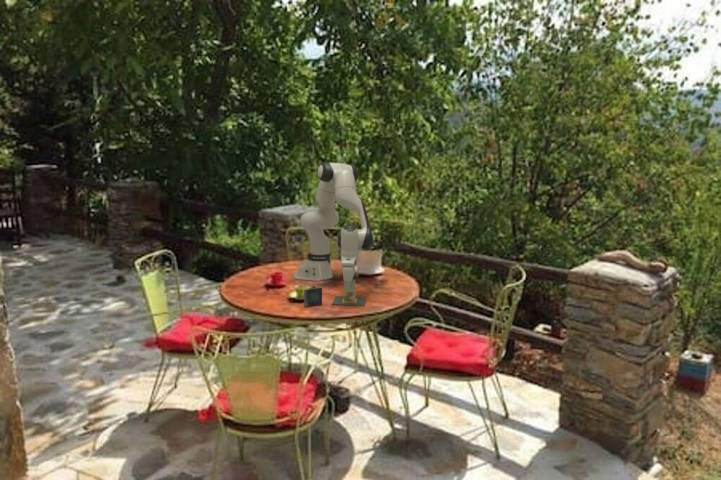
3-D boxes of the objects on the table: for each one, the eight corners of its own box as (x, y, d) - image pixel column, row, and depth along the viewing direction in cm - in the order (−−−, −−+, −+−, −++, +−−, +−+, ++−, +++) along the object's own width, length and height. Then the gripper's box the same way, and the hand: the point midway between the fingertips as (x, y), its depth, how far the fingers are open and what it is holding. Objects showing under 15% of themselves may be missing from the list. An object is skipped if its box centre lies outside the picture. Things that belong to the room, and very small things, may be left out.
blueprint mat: (331, 305, 285) (331, 303, 285) (335, 297, 298) (335, 296, 298) (364, 306, 284) (364, 304, 284) (366, 298, 297) (366, 297, 296)
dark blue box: (305, 307, 281) (305, 286, 279) (303, 306, 284) (302, 284, 282) (323, 305, 286) (322, 283, 283) (320, 303, 288) (320, 282, 286)
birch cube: (344, 301, 289) (344, 291, 288) (345, 298, 293) (345, 289, 292) (354, 302, 288) (354, 292, 287) (355, 299, 293) (355, 289, 292)
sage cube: (344, 291, 288) (344, 282, 287) (345, 289, 293) (345, 279, 292) (354, 292, 287) (354, 282, 286) (355, 289, 292) (355, 279, 291)
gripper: (345, 253, 297) (345, 280, 300) (340, 263, 277) (340, 291, 280) (358, 254, 296) (358, 280, 299) (353, 263, 277) (353, 292, 279)
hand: (349, 286), depth 289 cm, fingers open, 8 cm apart
